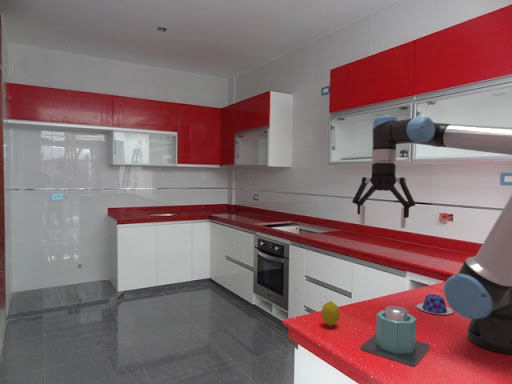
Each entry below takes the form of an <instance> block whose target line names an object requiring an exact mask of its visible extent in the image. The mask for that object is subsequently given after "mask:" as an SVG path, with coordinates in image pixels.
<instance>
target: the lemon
mask: <svg viewBox="0 0 512 384" xmlns="http://www.w3.org/2000/svg"><path fill="white" fill-rule="evenodd" d="M321 319H322V321H323V322H324V323H325V324H326V325H328V327H332V326H333V325H336V324H337V323H338V322H339V319H340V310H339V307H338V305H337V304H336V303H335V302H333V301H332V300H330V301H328V302H325V303H324V304H323V306H322V309H321Z"/></svg>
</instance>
